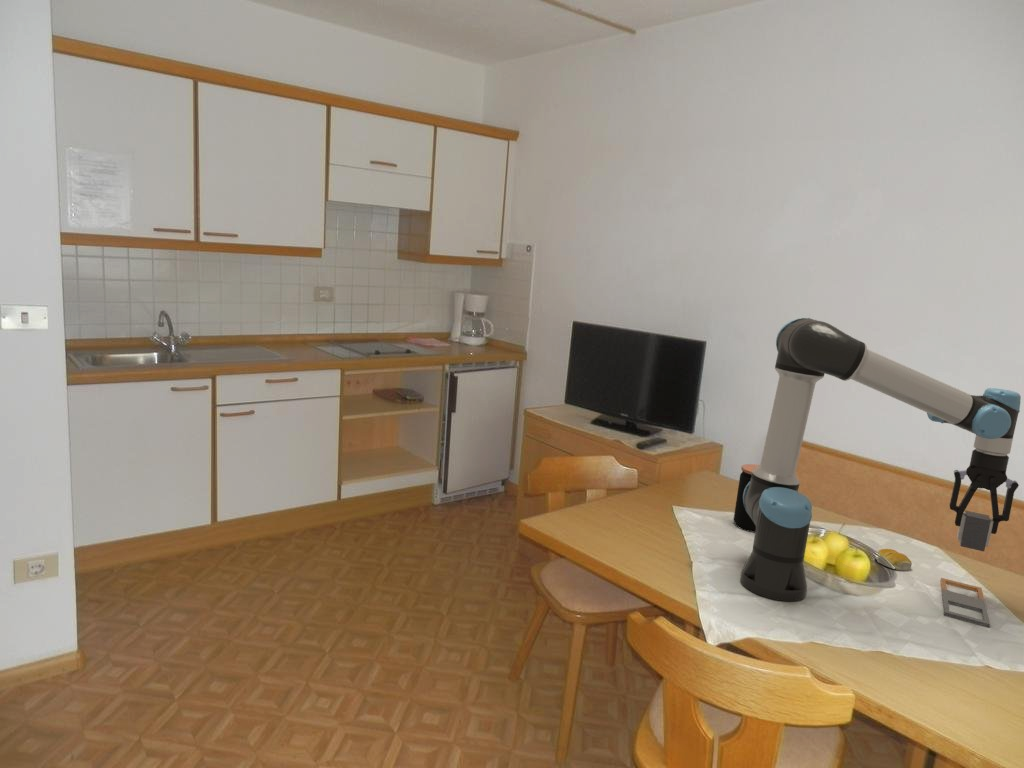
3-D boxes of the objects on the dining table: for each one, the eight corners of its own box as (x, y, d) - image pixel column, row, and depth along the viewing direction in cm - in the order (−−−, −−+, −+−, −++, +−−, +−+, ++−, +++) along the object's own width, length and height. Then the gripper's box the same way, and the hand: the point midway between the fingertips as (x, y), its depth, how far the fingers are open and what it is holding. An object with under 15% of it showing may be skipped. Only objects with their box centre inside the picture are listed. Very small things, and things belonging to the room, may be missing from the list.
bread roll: (891, 558, 200) (894, 544, 200) (916, 571, 192) (918, 557, 191) (866, 558, 198) (869, 544, 198) (890, 571, 190) (892, 557, 189)
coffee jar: (763, 536, 208) (772, 476, 205) (727, 525, 214) (736, 468, 211) (774, 527, 216) (783, 470, 213) (740, 517, 222) (748, 462, 219)
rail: (989, 627, 161) (990, 624, 161) (944, 615, 166) (944, 612, 166) (980, 590, 182) (981, 587, 182) (940, 580, 187) (940, 577, 186)
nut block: (984, 551, 175) (990, 520, 173) (960, 546, 177) (966, 515, 176) (982, 545, 179) (988, 515, 178) (959, 540, 181) (965, 510, 180)
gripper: (1033, 456, 173) (1013, 547, 177) (947, 442, 182) (930, 528, 185) (1038, 462, 166) (1017, 556, 170) (949, 447, 175) (931, 536, 179)
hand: (972, 541), depth 178 cm, fingers closed on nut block, 5 cm apart
